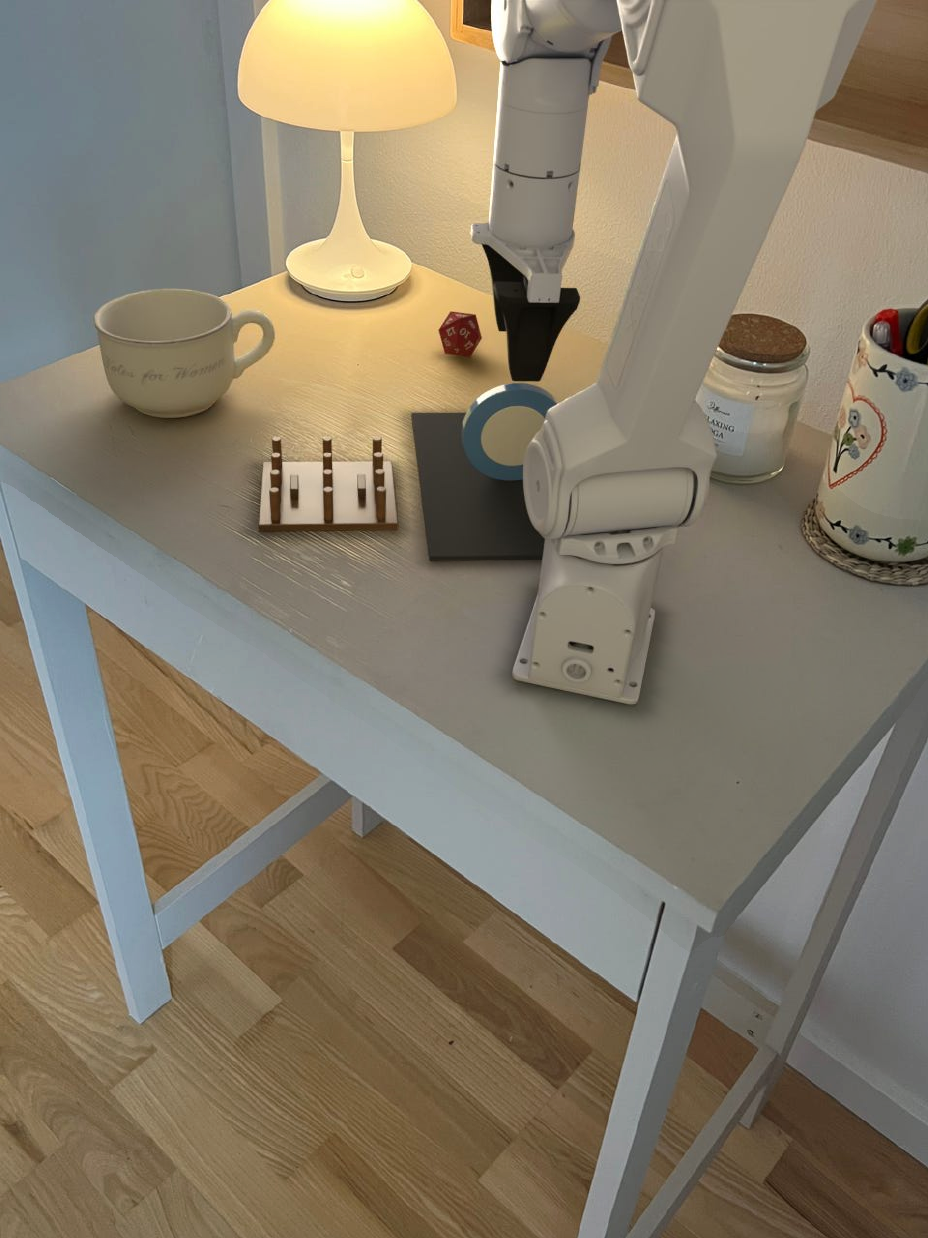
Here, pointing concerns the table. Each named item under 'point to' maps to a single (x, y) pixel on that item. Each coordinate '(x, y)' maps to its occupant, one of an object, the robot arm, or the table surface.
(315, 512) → the rack
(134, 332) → the teacup
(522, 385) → the plate
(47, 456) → the table surface
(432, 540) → the placemat
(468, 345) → the dice
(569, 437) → the robot arm
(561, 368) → the table surface
